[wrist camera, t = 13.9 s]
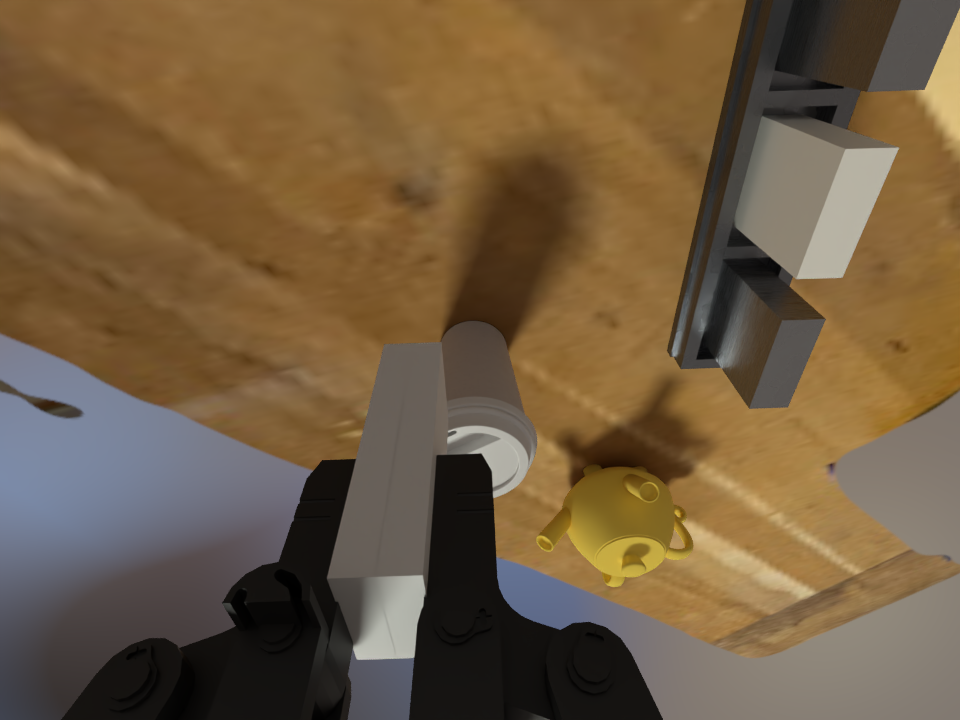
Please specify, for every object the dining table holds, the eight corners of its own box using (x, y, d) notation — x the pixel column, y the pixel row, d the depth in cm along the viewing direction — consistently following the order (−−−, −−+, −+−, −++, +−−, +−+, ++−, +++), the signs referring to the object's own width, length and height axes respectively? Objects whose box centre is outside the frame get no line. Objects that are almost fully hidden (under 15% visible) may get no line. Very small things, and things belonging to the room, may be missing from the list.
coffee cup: (517, 299, 46) (534, 408, 33) (526, 381, 51) (544, 500, 39) (414, 313, 46) (394, 425, 34) (434, 393, 52) (424, 513, 40)
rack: (775, -126, 29) (908, -181, 21) (948, -133, 29) (1158, -191, 21) (667, 350, 49) (711, 428, 40) (771, 347, 49) (838, 424, 40)
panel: (760, 115, 36) (845, 149, 28) (802, 114, 36) (899, 147, 28) (731, 223, 41) (796, 279, 33) (767, 222, 41) (842, 277, 33)
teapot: (631, 424, 55) (662, 507, 46) (687, 486, 61) (725, 571, 52) (525, 481, 60) (535, 567, 51) (587, 534, 66) (606, 618, 57)
